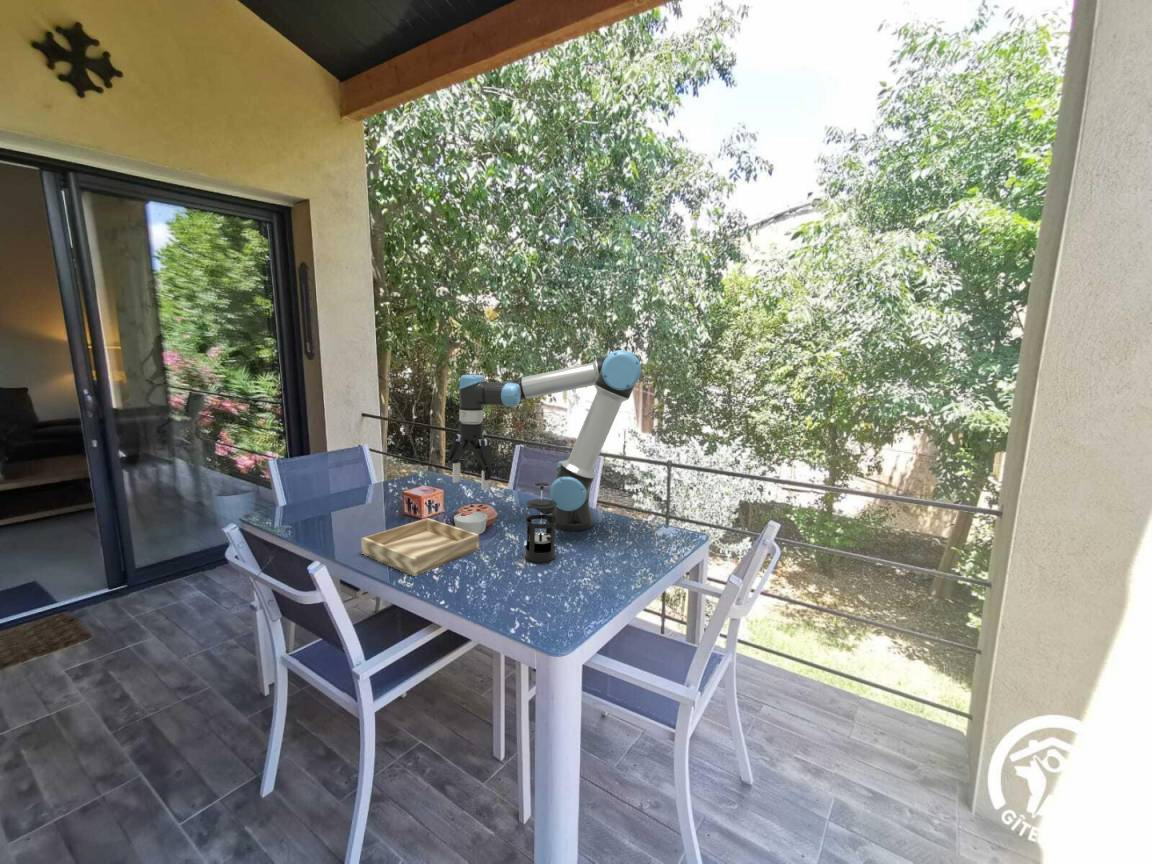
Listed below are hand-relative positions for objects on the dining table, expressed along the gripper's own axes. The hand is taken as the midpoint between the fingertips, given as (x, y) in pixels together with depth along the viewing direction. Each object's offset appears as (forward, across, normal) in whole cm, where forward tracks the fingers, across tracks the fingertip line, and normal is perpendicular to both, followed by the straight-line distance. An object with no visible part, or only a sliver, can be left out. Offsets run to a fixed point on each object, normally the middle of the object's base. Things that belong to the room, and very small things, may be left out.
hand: (470, 485), depth 170 cm
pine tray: (+16, +2, -22) cm, 27 cm away
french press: (+16, +32, -2) cm, 36 cm away
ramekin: (+16, 0, 0) cm, 16 cm away
